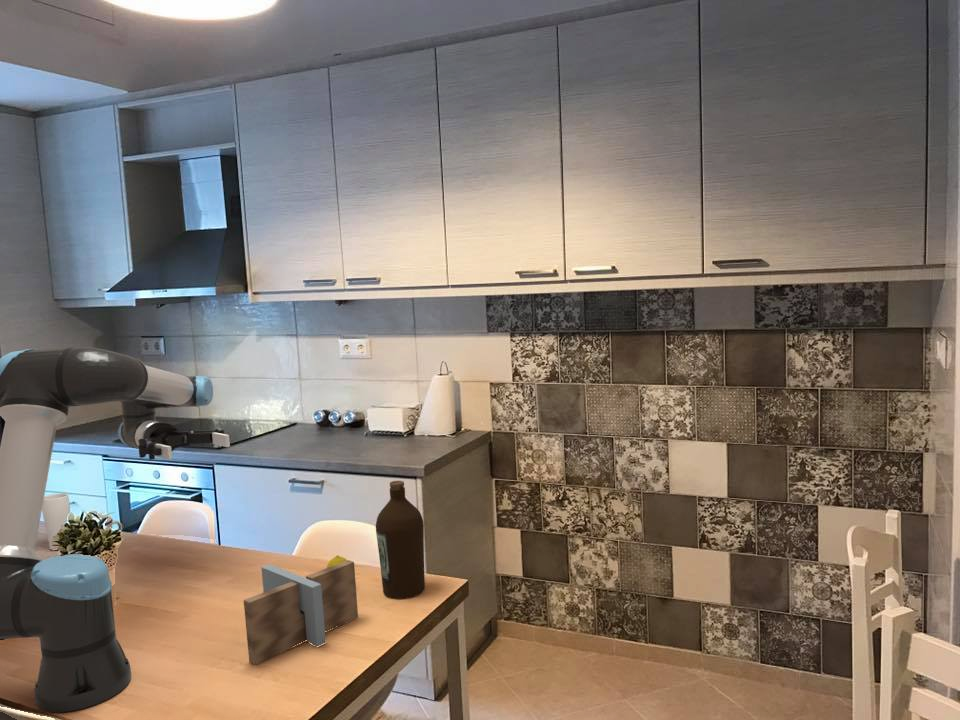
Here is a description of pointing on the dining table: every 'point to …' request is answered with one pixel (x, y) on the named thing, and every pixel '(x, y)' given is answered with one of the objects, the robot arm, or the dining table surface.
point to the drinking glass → (55, 513)
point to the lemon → (336, 561)
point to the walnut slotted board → (297, 611)
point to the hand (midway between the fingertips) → (199, 446)
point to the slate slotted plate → (300, 599)
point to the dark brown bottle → (401, 546)
